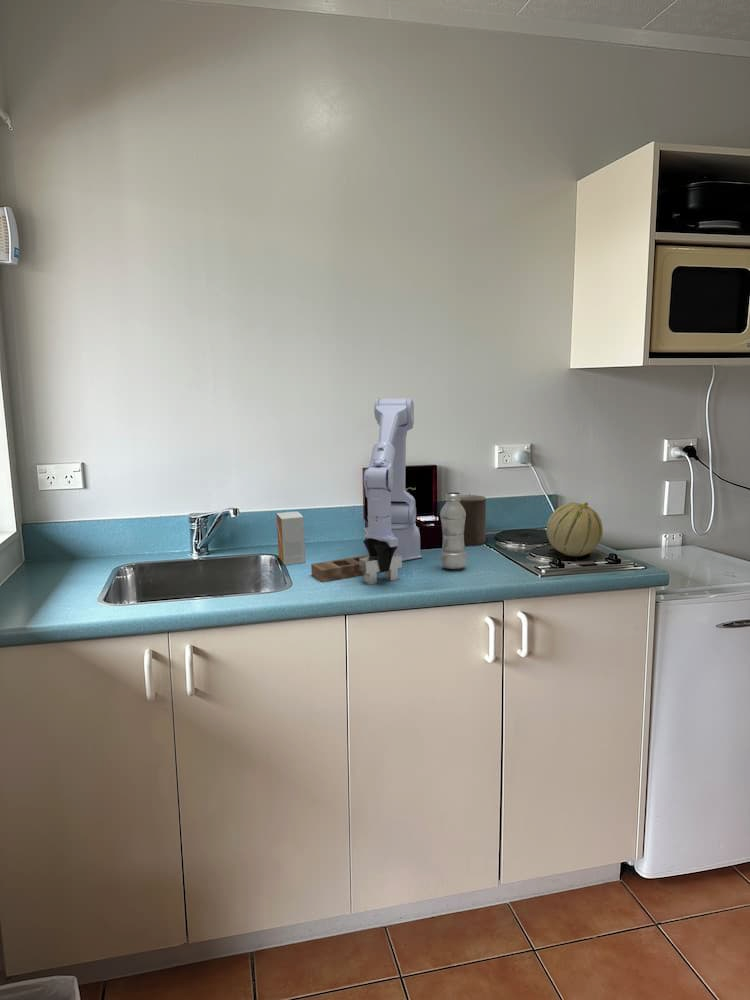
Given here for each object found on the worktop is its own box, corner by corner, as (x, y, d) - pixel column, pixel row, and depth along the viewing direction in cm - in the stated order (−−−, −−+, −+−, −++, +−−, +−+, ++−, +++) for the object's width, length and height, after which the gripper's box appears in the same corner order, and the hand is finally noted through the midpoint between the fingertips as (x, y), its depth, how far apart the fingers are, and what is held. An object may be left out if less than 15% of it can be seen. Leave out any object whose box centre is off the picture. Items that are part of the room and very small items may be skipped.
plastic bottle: (465, 572, 180) (465, 495, 176) (439, 571, 181) (438, 495, 177) (467, 565, 186) (467, 491, 182) (442, 564, 187) (441, 490, 184)
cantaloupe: (541, 548, 201) (542, 497, 198) (593, 548, 200) (595, 496, 198) (552, 563, 186) (553, 507, 184) (608, 562, 186) (610, 506, 183)
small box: (278, 558, 198) (275, 512, 196) (300, 555, 200) (298, 510, 198) (283, 565, 191) (280, 518, 188) (306, 562, 193) (304, 516, 190)
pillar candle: (470, 547, 204) (471, 497, 201) (446, 542, 211) (446, 492, 209) (492, 542, 210) (493, 493, 208) (467, 536, 218) (468, 489, 215)
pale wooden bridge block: (395, 575, 179) (394, 552, 178) (402, 579, 176) (401, 555, 174) (359, 581, 174) (359, 558, 173) (366, 585, 171) (365, 561, 170)
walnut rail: (380, 563, 190) (379, 553, 189) (392, 569, 184) (392, 558, 183) (311, 575, 181) (311, 564, 180) (322, 582, 175) (322, 570, 174)
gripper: (351, 512, 176) (353, 564, 179) (379, 522, 164) (380, 578, 166) (376, 509, 180) (377, 560, 182) (405, 519, 167) (406, 574, 169)
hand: (380, 569), depth 174 cm, fingers closed on pale wooden bridge block, 4 cm apart
